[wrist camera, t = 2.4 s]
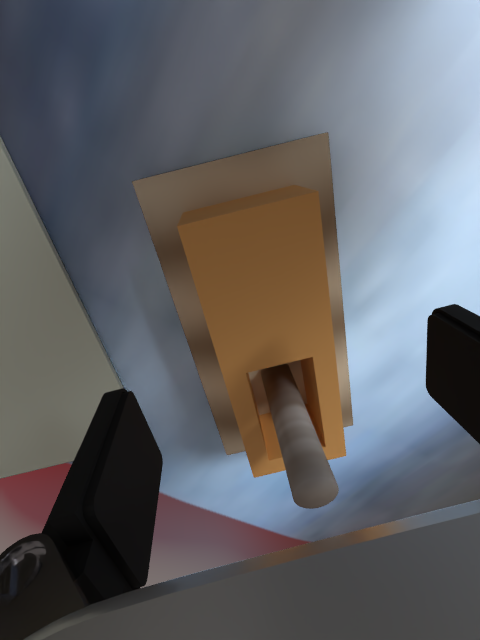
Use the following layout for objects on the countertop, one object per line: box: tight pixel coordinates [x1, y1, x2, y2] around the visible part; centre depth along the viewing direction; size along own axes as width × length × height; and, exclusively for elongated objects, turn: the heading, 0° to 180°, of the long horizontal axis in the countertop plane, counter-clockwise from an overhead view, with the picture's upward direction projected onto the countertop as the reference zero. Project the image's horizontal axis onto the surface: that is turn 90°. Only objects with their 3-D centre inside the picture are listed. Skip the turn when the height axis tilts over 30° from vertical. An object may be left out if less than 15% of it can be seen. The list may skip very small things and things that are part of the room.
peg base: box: [132, 132, 353, 508], centre depth 17 cm, size 20×10×11 cm, turn 13°
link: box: [177, 185, 346, 478], centre depth 19 cm, size 16×6×4 cm, turn 13°
